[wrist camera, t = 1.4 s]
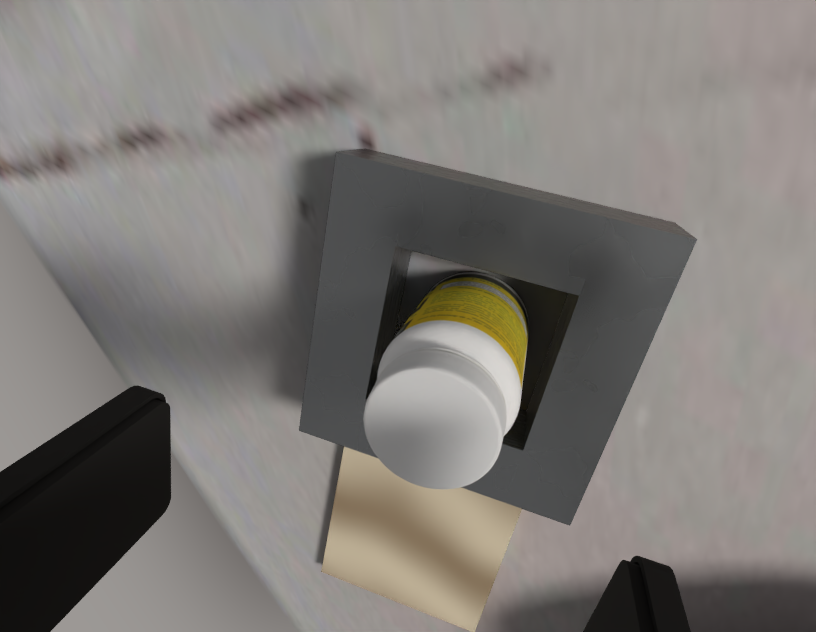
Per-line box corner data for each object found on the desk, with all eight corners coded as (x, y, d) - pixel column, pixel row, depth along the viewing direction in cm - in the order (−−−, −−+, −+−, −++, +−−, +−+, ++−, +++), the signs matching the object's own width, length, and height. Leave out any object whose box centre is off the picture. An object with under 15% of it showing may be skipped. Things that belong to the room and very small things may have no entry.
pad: (475, 622, 27) (474, 632, 27) (325, 563, 29) (321, 571, 28) (522, 499, 24) (522, 508, 23) (348, 439, 25) (344, 446, 25)
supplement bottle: (424, 262, 21) (352, 337, 13) (538, 278, 20) (531, 370, 12) (415, 363, 23) (347, 481, 15) (519, 383, 22) (503, 520, 14)
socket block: (567, 478, 23) (569, 525, 20) (326, 397, 25) (298, 430, 22) (674, 222, 18) (697, 239, 15) (365, 148, 20) (336, 151, 17)
